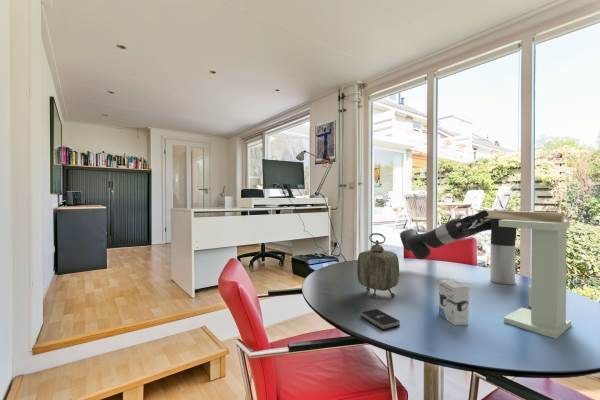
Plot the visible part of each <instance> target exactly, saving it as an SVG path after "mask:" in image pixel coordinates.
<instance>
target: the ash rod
mask: <svg viewBox="0 0 600 400" xmlns="http://www.w3.org/2000/svg"><path fill="white" fill-rule="evenodd" d="M483 210H484V209H478V213H479V212H481V211H483ZM497 210H498V209H497ZM497 210H495V209H493V210H492V209H491V210H490V209H486V211H487V212H488V214H489V216H487V217H485V218H495V219H513V220H530V221H547V222H564V220H565V213H564V212H553V211H552V212H548V211H547V212H546V211H521V210H520V211H518V210H508V211H497Z"/></svg>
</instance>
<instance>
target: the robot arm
mask: <svg viewBox="0 0 600 400" xmlns="http://www.w3.org/2000/svg"><path fill="white" fill-rule="evenodd" d="M482 210H483V211H481V212H479V211H478V212H477V213H475V214H471V215H467V216H465V217H463V218H460V217H454V218H452V219H450V220H448V221H447V222H445V223H442V224H441V225H439V226H437V227H436V228H434V229H432V230H430V231H427V232H424V233H418V231H417V230H416V229H414V228H409V229H406V230H403V231H401V232H400V233H399V237H400V240H401V244H402V247H403V249H404V251H406V252H410V253H412V255H413V256H414V257H415V258H416V259H418V260H424V259H427V258H428V257H429V256H430V255H431V252H432V251H431V248H432V249H437V248H441V247H443V246H445V245H447V244H451V243H454V242H456V241H459V240H463V239H465V238H469V237H471V236H474V235H476V234H479V233H481V232H486V231H490V281H491V282H493V283H496V284H499V285H501V284H502V285H514V284H515V283H516V241H517V228H514V227H501V226H499V220H504V219H495V218H485V217H487V216H489V214H488V212H487V211H486V210H487V209H486V210H485V209H482ZM494 210H497V211H509V210H507V209H504V208H502V209H497V208H494ZM515 285H516V284H515Z"/></svg>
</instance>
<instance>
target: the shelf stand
mask: <svg viewBox="0 0 600 400" xmlns="http://www.w3.org/2000/svg"><path fill="white" fill-rule="evenodd" d="M570 221H571V220H565V219H564V222H547V221H530V220H513V219H504V220H499V226H501V227H514V228H516V229H527V230H529V229H530V230H531V259H530V260H531V273H530V274H531V275H530V276H531V277H530V279H531V280H530V281H531V282H530V285H531V307H530V308H529V309H528V308H524V307H519V308H518V309H516V310H514V311H512V312H511V313H509V314H507V315H505V316H504V317H503V323H506V324H508V325H512V326H515V327H517V328H521V329H525V330H527V331H530V332H533V333H536V334H540V335H544V336H546V337H549V338H553V339H557V338H558V337H560V336H561V335H562V334H563V333H564V332H566V331H567V330H568V329H570V327H572V320H569V319H567V313H566V312H567V241H568V240H567V238H568V237H567V236H568V235H567V233H568V232H567V231H568V230H567V229H568V228H571V223H570Z"/></svg>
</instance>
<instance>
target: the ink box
mask: <svg viewBox="0 0 600 400" xmlns="http://www.w3.org/2000/svg"><path fill="white" fill-rule="evenodd" d="M438 281H439V282H438V314H439V316H441V317H442V318H443V319H445V320H447V321H448V322H450V323H451V324H452V325H454V326H461V325H463V326H466V325H469V317H470V316H469V314H470V313H469V303H470V302H469V298H470V297H469V296H470V295H469V286H468V285H466V284H464V283H461V282H459V281H457V280H456V279H439V280H438Z"/></svg>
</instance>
